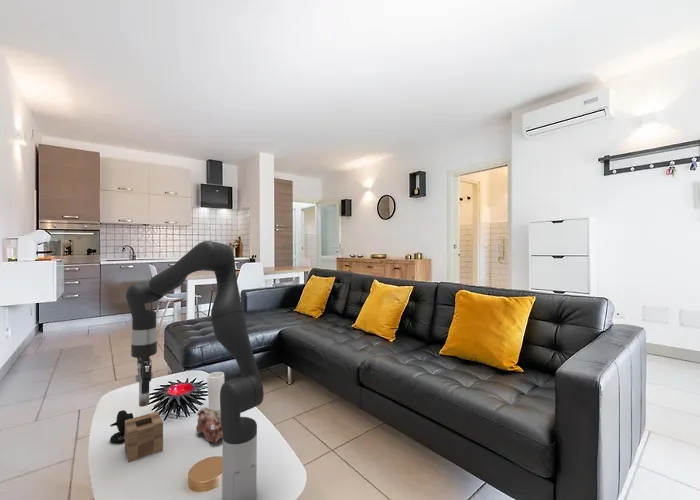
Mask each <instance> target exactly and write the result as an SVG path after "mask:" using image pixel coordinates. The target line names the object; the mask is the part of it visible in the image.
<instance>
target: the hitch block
mask: <svg viewBox="0 0 700 500" xmlns="http://www.w3.org/2000/svg"><path fill="white" fill-rule="evenodd" d="M124 438H125V442H124V451H125V455H126V460H127V463H130V462H133V461H136V460H139V459H143V458H145V457H148V456H151V455H154V454H157V453H160V452H162V451H164V422H163V420H162V417H161V415H160V414H159V411H155V412H151V413H148V414H143V415H139V416H136V417H133V418H132V419H128V420H125V436H124Z"/></svg>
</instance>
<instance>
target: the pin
mask: <svg viewBox="0 0 700 500" xmlns="http://www.w3.org/2000/svg"><path fill="white" fill-rule="evenodd" d="M153 376H154V374H153V372H151V380H152V379H153ZM147 378H148V376H146V377H144V379H147ZM135 381H136V382H138V407H139V408H141V407H146V406H149V405H150V392H149V393H146V394H142V393H141V376H139V374H138V373H137V375H135Z"/></svg>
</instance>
